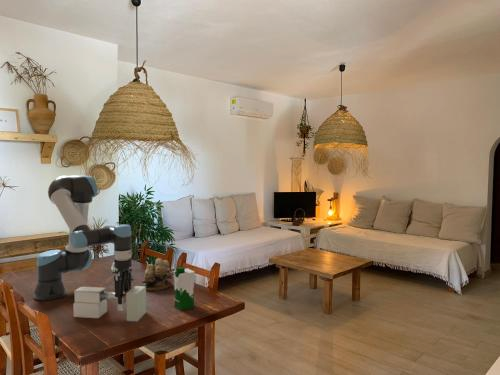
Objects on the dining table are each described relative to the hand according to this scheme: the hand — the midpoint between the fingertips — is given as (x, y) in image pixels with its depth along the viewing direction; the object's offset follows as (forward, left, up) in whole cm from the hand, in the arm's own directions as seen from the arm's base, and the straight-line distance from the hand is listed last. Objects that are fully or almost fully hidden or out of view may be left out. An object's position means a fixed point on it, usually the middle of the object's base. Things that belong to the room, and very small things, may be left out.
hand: (123, 308), depth 175 cm
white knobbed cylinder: (-30, +60, -4) cm, 67 cm away
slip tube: (-3, 0, +3) cm, 4 cm away
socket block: (+6, 0, -4) cm, 7 cm away
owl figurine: (+2, +40, -4) cm, 40 cm away
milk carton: (+25, +14, -4) cm, 29 cm away
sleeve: (-16, 0, -4) cm, 17 cm away
